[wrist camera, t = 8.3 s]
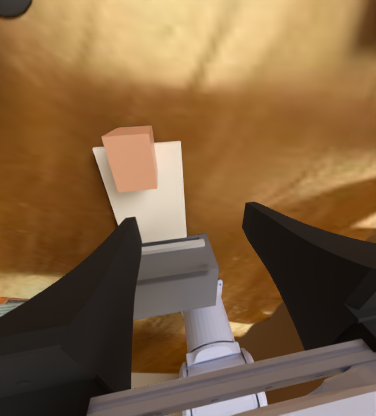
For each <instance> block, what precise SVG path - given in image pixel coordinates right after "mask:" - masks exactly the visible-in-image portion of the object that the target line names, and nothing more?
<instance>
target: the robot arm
mask: <svg viewBox="0 0 376 416" xmlns="http://www.w3.org/2000/svg"><path fill="white" fill-rule="evenodd" d="M242 228H243V230H244V233H245V235H246V237H247V239H248V241H249V242H250V244H251V245H252V247H253V248H254V250H255V251H256V253H257V254H258V256H259V257H260V259H261V260H262V262H263V263H264V265H265V266H266V268H267V270H268V271H269V273H270V275H271V277H272V279H273V281H274V282H275V284H276V286H277V288H278V290H279V292H280V294H281V296H282V299H283V301H284V303H285V304H286V307H287V309H288V311H289V313H290V316H291V318H292V320H293V322H294V325H295V327H296V330H297V332H298V334H299V337H300V339H301V342H302V344H303V347H304V349H305V351H303V352H298V353H294V354H289V355H285V356H280V357H275V358H271V359H266V360H262V361H257V362H254V361H253V359H252V357H251V355H250V354H249V353H248V352H247V351H246V350H245V349H244V348H242V349H240V348H239V345H238V342H235V340H234V337H233V334H232V330H231V327H230V324H229V321H228V318H227V315H226V312H225V309H224V305H223V302H222V299H221V293H222V283H223V282H222V280H218V285H217V297H216V306H211V307H205V308H199V309H194V310H188V311H182V312H181V315H184V324H185V332H186V341H187V350H188V353H187V354H186V357H187V362H184V363H183V364H182V367H181V369H180V372H179V379H175V380H170V381H166V382H161V383H156V384H152V385H147V386H143V387H138V388H134V389H131V360H132V333H133V315H134V300H135V291H136V284H137V279H138V273H139V267H140V261H141V255H142V239H141V235H140V232H139V228H138V224H137V220H136V217H128V218H125V219H124V220H123V221H122V222H121V223H120V225H119V226H118V227H117V228H116V229H115V230H114V231H113V233H112V234H111V235H110V236H109V237H108V238H107V239H106V240H105V241H104V242H103V243H102V244H101V245H100V246H99V247H98V248H97V249H96V250H95V251H94V252H93V253H92V254H91V255H90V256H89V257H87V258H86V259H85V260H84V261H83V262H82V263H80V264H79V265H78V266H77V267H75V268H74V269H73V270H71V271H70V272H69V273H67V274H66V275H65V276H63V277H62V278H61V279H59V280H58V281H57V282H55V283H54V284H52V285H51V286H49V287H48V288H46V289H45V290H43V291H42V292H40V293H39V294H37V295H36V296H34V297H33V298H31V299H29V300H28V301H26V302H24V303H23V304H21V305H19V306H18V307H16V308H14V309H13V310H11V311H9V312H7V313H6V314H4V315H2V316H1V317H0V416H164V415H168V414H172V413H176V412H180V411H182V415H183V416H376V243H371V242H366V241H362V240H357V239H353V238H349V237H346V236H342V235H338V234H335V233H331V232H328V231H325V230H322V229H319V228H316V227H313V226H310V225H307V224H305V223H302V222H300V221H297V220H295V219H292V218H290V217H288V216H285V215H283V214H281V213H279V212H277V211H274V210H272V209H270V208H268V207H266V206H264V205H262V204H259V203H257V202H248V203H246V204H245V211H244V218H243V225H242ZM336 374H338V375H336ZM332 375H335V376H333V377H330V378H327V379H325V380H324V382H323V384H322V385H321V386H320V387H319V388H317V389H316V390H314V391H313V392H311V393H309V394H308V395H307V396H304V397H299V398H295V399H291V400H287V401H283V402H279V403H275V404H270V405H267V400H266V396H265V391H269V390H273V389H277V388H281V387H286V386H290V385H294V384H298V383H302V382H307V381H311V380H315V379H319V378H324V377H328V376H332Z"/></svg>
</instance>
